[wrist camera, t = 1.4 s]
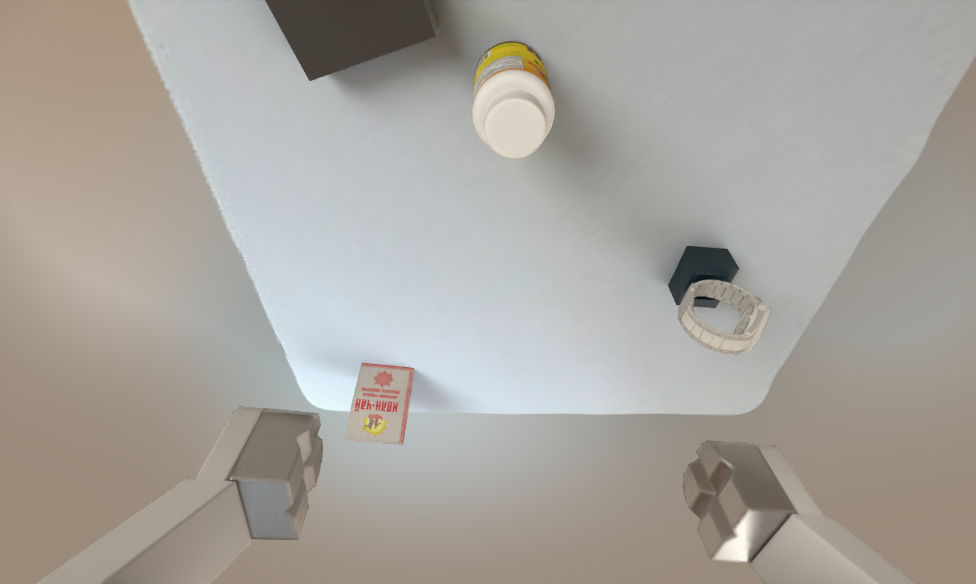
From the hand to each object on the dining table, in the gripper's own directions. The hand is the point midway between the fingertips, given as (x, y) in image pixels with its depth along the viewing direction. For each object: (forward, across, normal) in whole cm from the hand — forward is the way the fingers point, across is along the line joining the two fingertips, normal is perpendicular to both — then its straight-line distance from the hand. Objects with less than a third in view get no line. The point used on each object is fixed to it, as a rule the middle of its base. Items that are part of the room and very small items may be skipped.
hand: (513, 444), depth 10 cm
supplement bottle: (+34, -2, -2) cm, 34 cm away
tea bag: (+40, +9, +37) cm, 56 cm away
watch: (+37, -25, +14) cm, 47 cm away
